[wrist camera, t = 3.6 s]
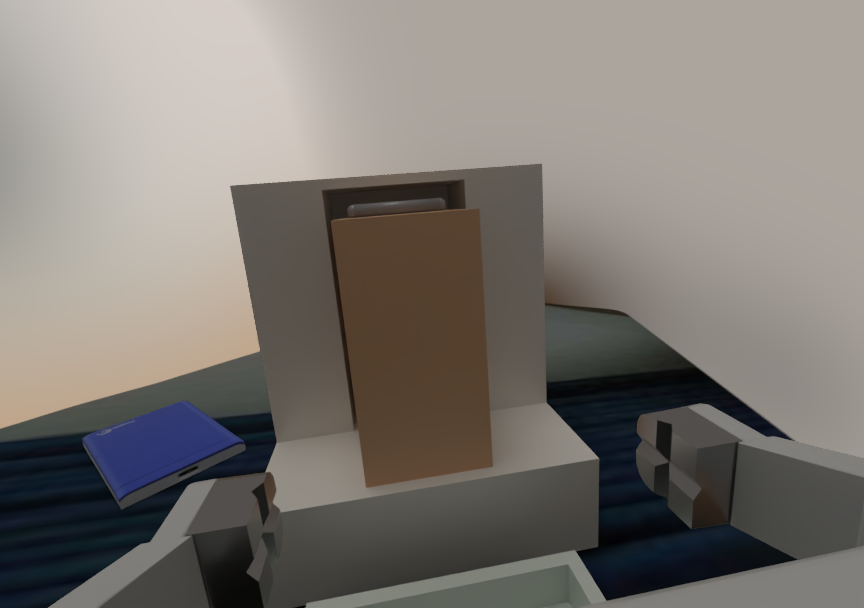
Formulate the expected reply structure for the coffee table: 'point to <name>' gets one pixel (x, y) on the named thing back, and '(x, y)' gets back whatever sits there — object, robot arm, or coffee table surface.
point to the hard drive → (158, 450)
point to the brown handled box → (415, 337)
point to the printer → (335, 407)
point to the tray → (489, 588)
